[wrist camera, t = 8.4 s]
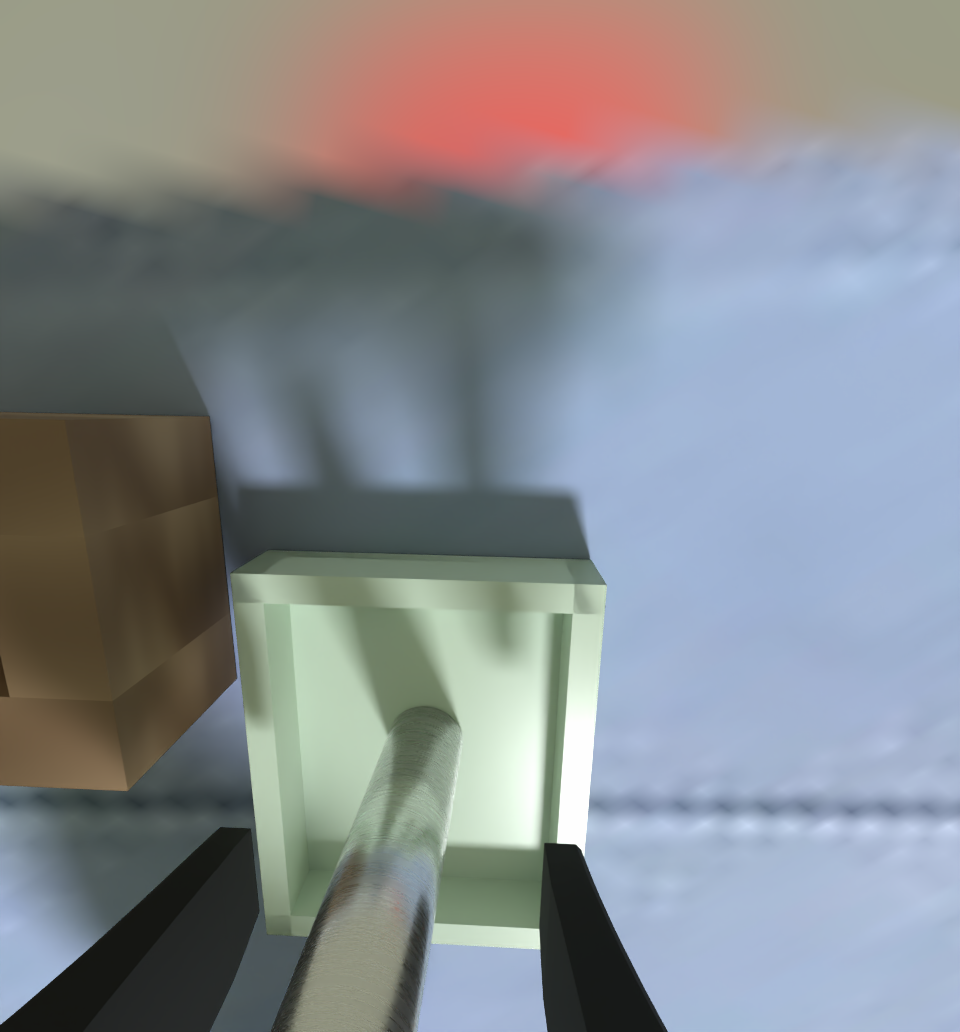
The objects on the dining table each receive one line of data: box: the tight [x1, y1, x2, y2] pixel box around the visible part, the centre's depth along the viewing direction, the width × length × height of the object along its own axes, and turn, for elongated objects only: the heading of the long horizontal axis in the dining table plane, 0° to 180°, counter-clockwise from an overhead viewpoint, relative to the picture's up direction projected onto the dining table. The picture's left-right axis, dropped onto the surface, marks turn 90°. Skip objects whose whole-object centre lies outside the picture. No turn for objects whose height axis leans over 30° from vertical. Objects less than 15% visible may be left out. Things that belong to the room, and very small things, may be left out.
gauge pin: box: [271, 706, 463, 1032], centre depth 9 cm, size 2×2×8 cm
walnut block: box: [0, 412, 237, 791], centre depth 11 cm, size 7×7×4 cm
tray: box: [230, 550, 607, 949], centre depth 12 cm, size 10×8×2 cm
